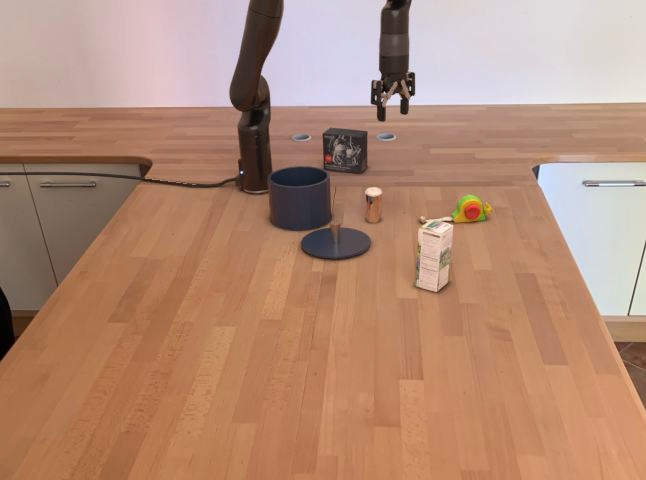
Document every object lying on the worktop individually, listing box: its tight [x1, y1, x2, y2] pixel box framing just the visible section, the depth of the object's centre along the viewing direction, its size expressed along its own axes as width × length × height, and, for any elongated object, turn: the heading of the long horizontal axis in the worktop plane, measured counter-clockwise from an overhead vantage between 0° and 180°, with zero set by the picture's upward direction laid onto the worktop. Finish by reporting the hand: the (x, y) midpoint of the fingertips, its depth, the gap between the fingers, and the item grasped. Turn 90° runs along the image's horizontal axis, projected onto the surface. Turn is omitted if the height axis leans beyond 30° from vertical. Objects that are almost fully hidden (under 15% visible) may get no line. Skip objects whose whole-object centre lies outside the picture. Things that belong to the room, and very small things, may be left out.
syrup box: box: [414, 220, 454, 293], centre depth 157 cm, size 6×6×14 cm
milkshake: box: [364, 185, 386, 224], centre depth 190 cm, size 4×5×10 cm
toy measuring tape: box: [419, 194, 493, 224], centre depth 189 cm, size 6×19×7 cm, turn 95°
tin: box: [267, 165, 332, 232], centre depth 192 cm, size 17×17×12 cm
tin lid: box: [300, 220, 371, 260], centre depth 178 cm, size 18×18×6 cm
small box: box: [322, 127, 369, 175], centre depth 225 cm, size 13×7×12 cm, turn 68°
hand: (392, 117), depth 184 cm, fingers open, 8 cm apart
